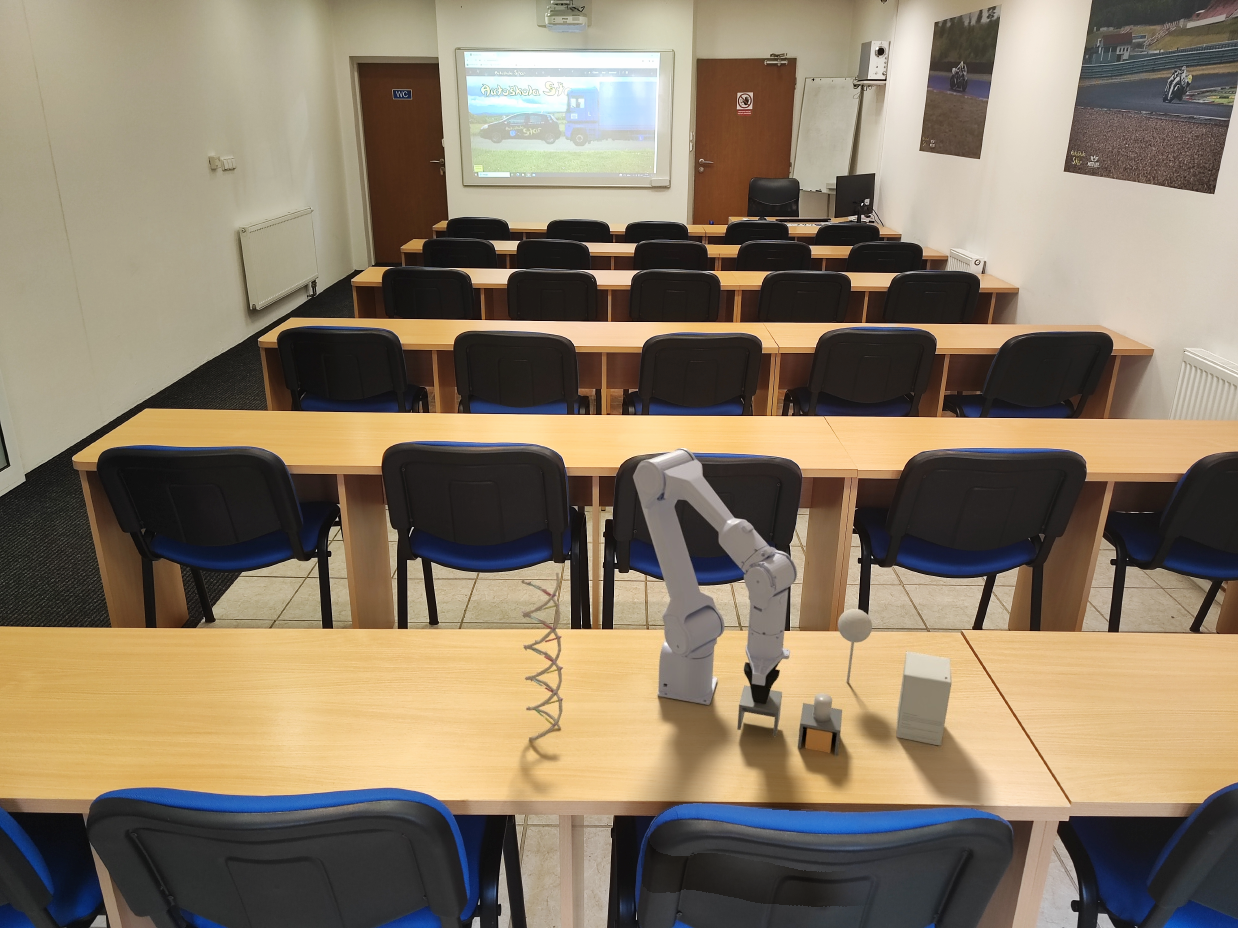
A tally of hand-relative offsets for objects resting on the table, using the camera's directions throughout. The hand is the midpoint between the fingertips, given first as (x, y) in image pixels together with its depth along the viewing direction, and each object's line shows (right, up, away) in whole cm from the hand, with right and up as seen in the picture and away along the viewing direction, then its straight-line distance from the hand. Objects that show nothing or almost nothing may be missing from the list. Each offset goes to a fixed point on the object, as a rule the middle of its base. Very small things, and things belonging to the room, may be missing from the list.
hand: (760, 695), depth 146 cm
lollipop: (+18, -2, +15) cm, 24 cm away
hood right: (+10, -8, 0) cm, 12 cm away
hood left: (0, -5, +2) cm, 5 cm away
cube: (+10, -8, 0) cm, 12 cm away
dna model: (-36, -7, +1) cm, 36 cm away
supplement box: (+27, -7, +3) cm, 28 cm away
